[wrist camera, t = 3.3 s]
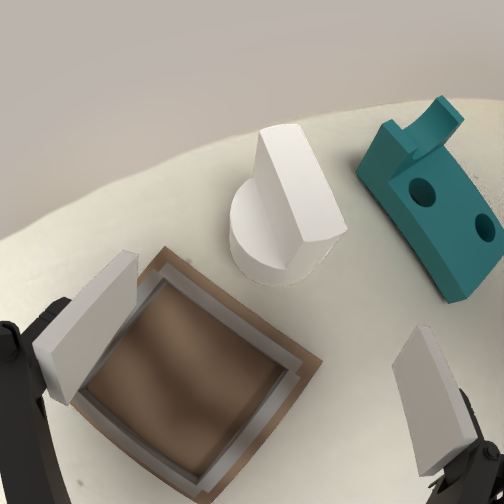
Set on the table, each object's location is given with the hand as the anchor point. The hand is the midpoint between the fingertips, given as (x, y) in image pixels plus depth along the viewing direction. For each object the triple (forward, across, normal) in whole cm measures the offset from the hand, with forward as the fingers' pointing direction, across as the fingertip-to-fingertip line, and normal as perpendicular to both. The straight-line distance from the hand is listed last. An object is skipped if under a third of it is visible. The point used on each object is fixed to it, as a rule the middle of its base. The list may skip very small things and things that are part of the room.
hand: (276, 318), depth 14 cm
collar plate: (+7, -5, -15) cm, 17 cm away
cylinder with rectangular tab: (+18, 0, -4) cm, 18 cm away
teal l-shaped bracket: (+24, +17, +2) cm, 29 cm away
